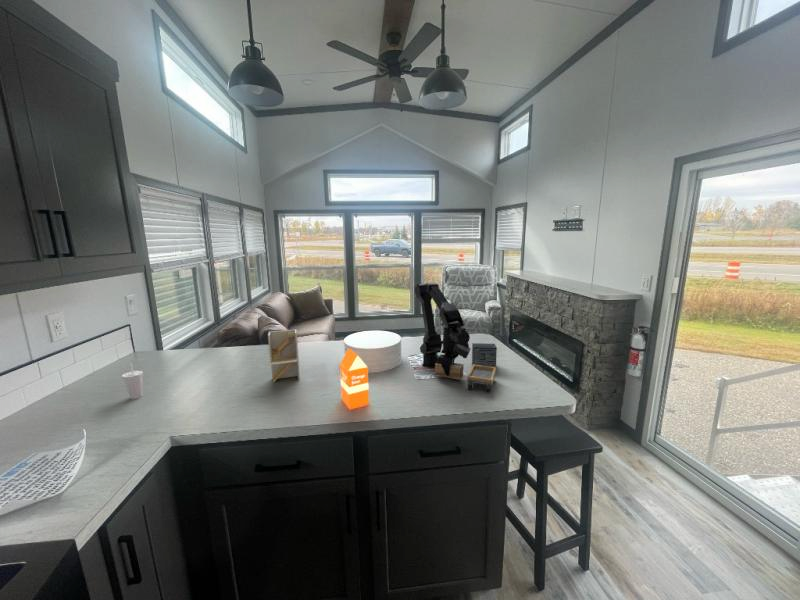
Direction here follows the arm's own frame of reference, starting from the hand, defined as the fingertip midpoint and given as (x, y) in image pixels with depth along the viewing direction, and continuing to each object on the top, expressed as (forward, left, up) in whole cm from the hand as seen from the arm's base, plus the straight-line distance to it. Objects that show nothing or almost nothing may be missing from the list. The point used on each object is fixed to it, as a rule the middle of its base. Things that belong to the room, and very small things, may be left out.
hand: (449, 372), depth 141 cm
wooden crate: (-66, -26, -3) cm, 71 cm away
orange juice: (-28, -32, -3) cm, 43 cm away
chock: (0, 0, -1) cm, 1 cm away
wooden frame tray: (+14, -1, -3) cm, 14 cm away
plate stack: (-40, +7, -3) cm, 41 cm away
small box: (+12, +19, -3) cm, 23 cm away
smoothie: (-110, -60, -3) cm, 125 cm away
